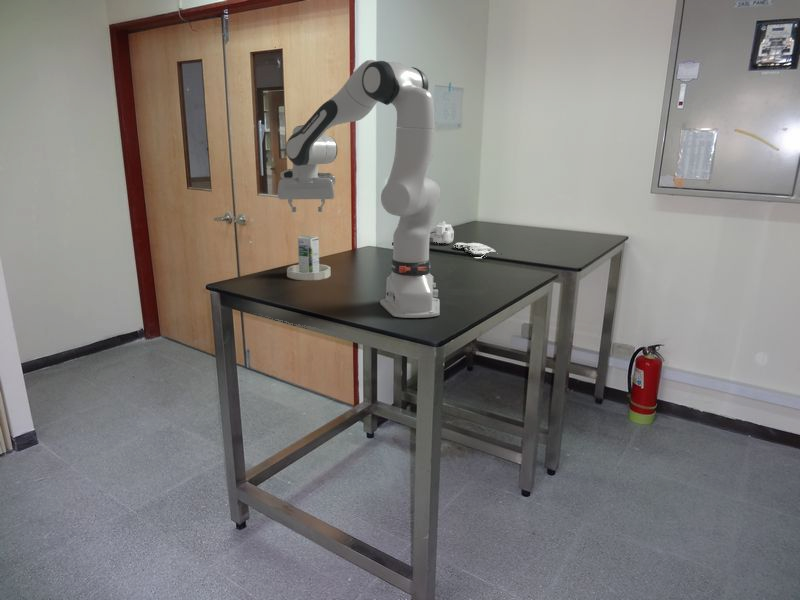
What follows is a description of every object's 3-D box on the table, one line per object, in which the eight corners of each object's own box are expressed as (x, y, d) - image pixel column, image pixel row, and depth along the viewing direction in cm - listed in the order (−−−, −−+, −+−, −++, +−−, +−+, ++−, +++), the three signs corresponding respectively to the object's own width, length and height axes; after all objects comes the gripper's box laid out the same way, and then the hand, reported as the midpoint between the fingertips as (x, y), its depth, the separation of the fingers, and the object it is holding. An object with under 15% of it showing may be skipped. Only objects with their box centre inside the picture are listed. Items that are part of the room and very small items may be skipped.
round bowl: (330, 281, 197) (330, 272, 196) (285, 281, 195) (285, 273, 194) (330, 271, 212) (330, 263, 211) (289, 272, 210) (288, 264, 209)
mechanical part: (435, 242, 279) (436, 219, 276) (456, 245, 273) (457, 221, 270) (424, 245, 270) (425, 221, 267) (446, 248, 264) (447, 224, 261)
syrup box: (298, 275, 202) (296, 237, 198) (307, 272, 207) (305, 234, 203) (311, 277, 200) (310, 238, 196) (320, 274, 205) (318, 236, 201)
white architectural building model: (461, 260, 240) (461, 250, 239) (452, 249, 264) (452, 240, 263) (511, 260, 241) (512, 250, 240) (497, 249, 265) (498, 240, 264)
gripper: (334, 172, 198) (335, 210, 201) (277, 172, 195) (279, 211, 199) (334, 173, 192) (336, 212, 195) (276, 173, 189) (278, 213, 193)
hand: (307, 212), depth 197 cm, fingers open, 8 cm apart
